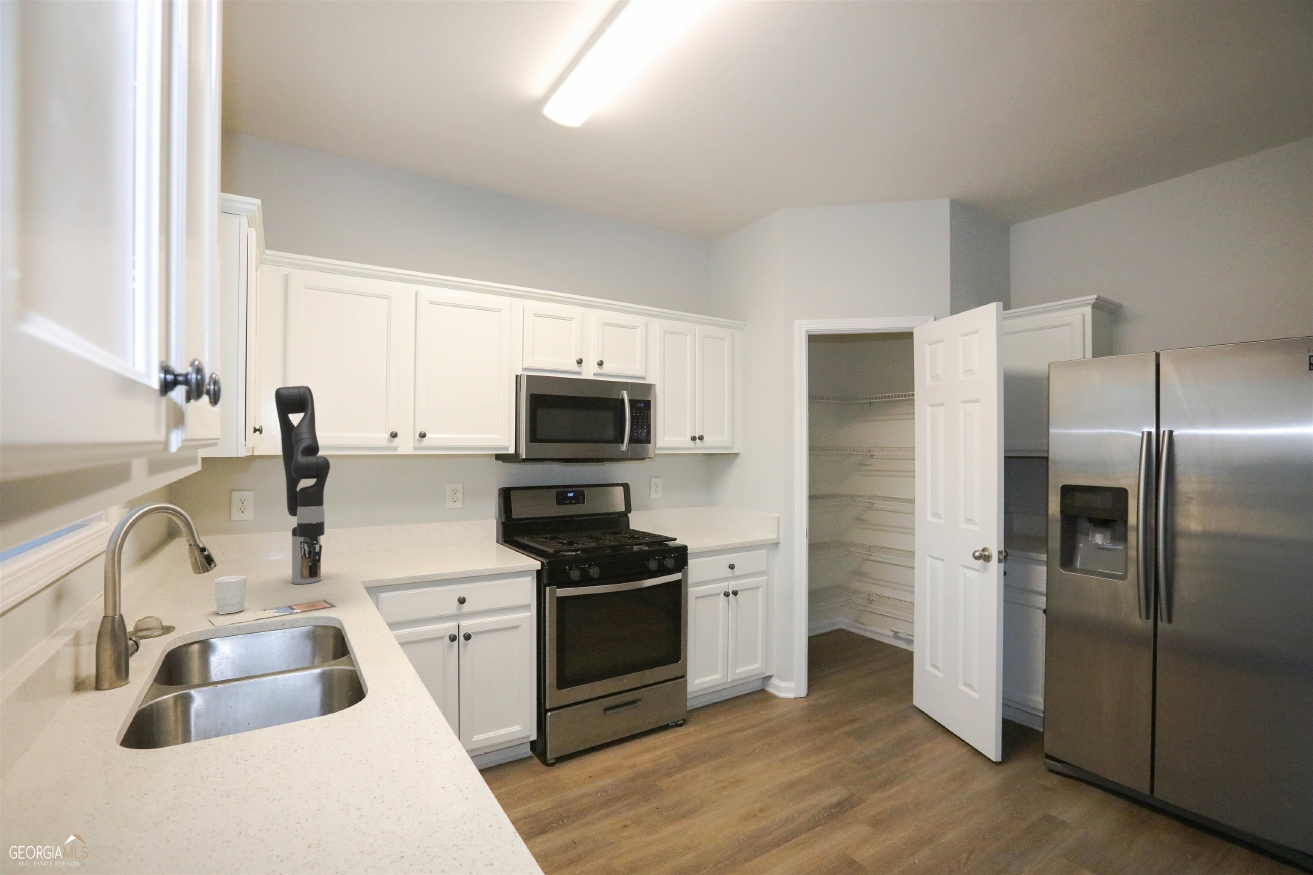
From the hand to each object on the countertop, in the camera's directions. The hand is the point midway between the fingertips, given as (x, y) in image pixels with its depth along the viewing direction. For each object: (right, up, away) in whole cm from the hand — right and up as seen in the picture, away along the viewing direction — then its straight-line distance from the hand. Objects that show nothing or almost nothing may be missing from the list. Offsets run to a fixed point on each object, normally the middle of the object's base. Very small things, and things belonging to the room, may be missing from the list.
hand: (310, 575), depth 195 cm
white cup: (-21, -10, -6) cm, 24 cm away
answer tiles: (-7, -10, -7) cm, 14 cm away
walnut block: (0, -1, 0) cm, 1 cm away
